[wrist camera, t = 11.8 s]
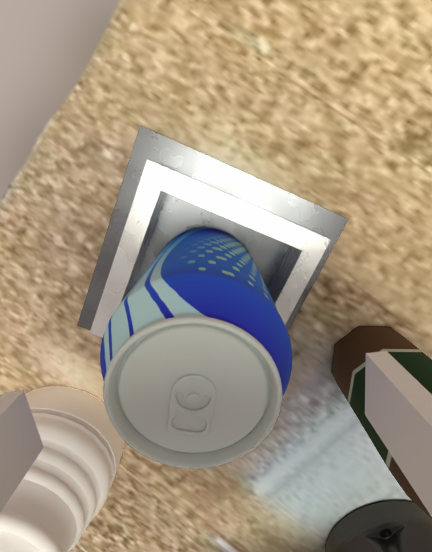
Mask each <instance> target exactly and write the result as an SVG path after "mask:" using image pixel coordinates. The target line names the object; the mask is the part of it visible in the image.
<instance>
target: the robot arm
mask: <svg viewBox="0 0 432 552" xmlns="http://www.w3.org/2000/svg"><path fill="white" fill-rule="evenodd" d="M365 415H366V417H367V419H368V420H369V422H370V423H371V425H372V426H373V428H374V429H375V431H376V432H377V434H378V435H379V437H380V438H381V440H382V441H383V443H384V445H385V446H386V448H387V449H388V451H389V452H390V454H391V455H392V457H393V458H394V460H395V461H396V463H397V464H398V466H399V468H400V469H401V471H402V472H403V474H404V475H405V477H406V478H407V480H408V481H409V483H410V484H411V486H412V487H413V489H414V490H415V492H416V494H417V495H418V497H419V498H420V500H421V501H422V503H423V504H424V506H425V507H426V509H427V510H428V512H429V513H430V515H431V517H432V394H431V393H430V392H429V391H428V390H426V389H425V388H424V387H423V386H422V385H421V384H420V383H419V382H418V381H417V380H416V379H415V378H414V377H413V376H412V375H411V374H410V373H409V372H408V371H407V370H406V369H405V368H404V367H403V366H402V365H401V364H399V363H398V362H397V361H396V360H395V359H394V358H393V357H392V356H391V355H390V354H389V353H388V352H387V351H382V352H372V353H366V365H365ZM43 448H44V446H43V443H42V441H41V438H40V435H39V432H38V429H37V426H36V424H35V421H34V418H33V415H32V412H31V410H30V407H29V404H28V401H27V398H26V395H25V393H24V391H15V392H6V393H4V394H3V395H2V396H1V397H0V513H1V511H2V510H3V508H4V507H5V505H6V504H7V502H8V500H9V499H10V497H11V496H12V494H13V493H14V491H15V490H16V488H17V487H18V485H19V484H20V482H21V481H22V479H23V478H24V476H25V475H26V473H27V472H28V470H29V469H30V467H31V466H32V464H33V463H34V461H35V460H36V458H37V457H38V455H39V454H40V452H41V451H42V449H43ZM325 552H432V518H430V517H429V516H428V515H427V514H426V513H425V512H424V511H423V510H422V509H421V508H420V507H419V506H418V505H417V504H416V503H415V502H409V501H386V502H380V503H375V504H372V505H368V506H366V507H363V508H361V509H358V510H356V511H354V512H353V513H351V514H349V515H348V516H346V517H345V518H344V519H342V520H341V521H340V522H339V523H338V524H337V525H336V526H335V527H334V529H333V530H332V532H331V533H330V535H329V537H328V539H327V542H326V548H325Z"/></svg>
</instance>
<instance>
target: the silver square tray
mask: <svg viewBox="0 0 432 552" xmlns="http://www.w3.org/2000/svg"><path fill="white" fill-rule="evenodd" d="M347 221H348V219H347V218H345V217H343V216H341V215H338V214H336V213H334V212H332V211H329V210H327V209H325V208H323V207H321V206H318V205H316V204H314V203H312V202H309V201H307V200H305V199H303V198H301V197H298V196H296V195H294V194H292V193H289V192H287V191H285V190H283V189H281V188H278V187H276V186H274V185H272V184H269V183H267V182H265V181H263V180H261V179H258V178H256V177H254V176H252V175H249V174H247V173H245V172H243V171H241V170H238V169H236V168H234V167H232V166H229V165H227V164H225V163H223V162H221V161H218V160H216V159H214V158H212V157H209V156H207V155H205V154H203V153H201V152H198V151H196V150H194V149H192V148H189V147H187V146H185V145H183V144H181V143H178V142H176V141H174V140H172V139H169V138H167V137H165V136H163V135H161V134H158V133H156V132H154V131H152V130H149V129H147V128H145V127H143V126H141V125H140V129H139V132H138V135H137V138H136V141H135V144H134V148H133V151H132V154H131V157H130V160H129V163H128V167H127V170H126V173H125V176H124V179H123V182H122V186H121V189H120V192H119V195H118V198H117V201H116V205H115V208H114V211H113V214H112V217H111V220H110V224H109V227H108V230H107V233H106V236H105V239H104V243H103V246H102V249H101V252H100V255H99V258H98V262H97V265H96V268H95V271H94V274H93V277H92V281H91V284H90V287H89V290H88V293H87V296H86V300H85V303H84V306H83V309H82V312H81V315H80V319H79V322H78V325H77V326H80V327H83V328H86V329H89V330H90V334H93V335H96V336H99V337H102V338H103V335H104V332H105V329H106V326H107V324H108V322H109V320H110V318H111V316H112V315H113V313H114V311H115V310H116V309H117V307H118V306H119V305H120V303H121V302H122V301H123V300H124V298H125V297H126V296H127V294H128V293H129V292H130V291H131V289H132V288H133V287H134V285H135V284H136V283H137V282H138V280H139V279H140V278H141V276H142V275H143V274H144V272H145V271H146V270H147V269H148V267H149V266H150V265H151V263H152V262H153V261H154V260H155V258H156V257H157V256H158V254H159V253H160V252H161V251H162V249H163V248H164V247H165V245H166V244H167V243H168V242H169V241H170V240H172V239H173V238H174V237H176V236H177V235H179V234H181V233H183V232H185V231H188V230H191V229H196V228H213V229H218V230H221V231H224V232H227V233H229V234H231V235H232V236H234V237H235V238H237V239H238V240H239V241H240V242H241V243H242V244H243V245H244V246H245V247H246V248H247V250H248V251H249V253H250V254H251V256H252V258H253V261H254V263H255V265H256V267H257V269H258V271H259V273H260V275H261V277H262V279H263V281H264V283H265V285H266V287H267V289H268V291H269V293H270V295H271V297H272V300H273V302H274V304H275V306H276V308H277V310H278V312H279V314H280V316H281V318H282V320H283V322H284V324H285V326H286V329H287V332H288V330H289V328H290V326H291V324H292V322H293V321H294V319H295V317H296V315H297V313H298V311H299V310H300V308H301V306H302V304H303V302H304V300H305V298H306V297H307V295H308V293H309V291H310V289H311V287H312V286H313V284H314V282H315V280H316V278H317V276H318V275H319V273H320V271H321V269H322V267H323V265H324V264H325V262H326V260H327V258H328V256H329V254H330V253H331V251H332V249H333V247H334V245H335V243H336V241H337V240H338V238H339V236H340V234H341V232H342V230H343V229H344V227H345V225H346V223H347Z"/></svg>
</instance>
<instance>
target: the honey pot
mask: <svg viewBox="0 0 432 552" xmlns="http://www.w3.org/2000/svg"><path fill="white" fill-rule="evenodd" d="M25 395H26V398H27V401H28V404H29V407H30V410H31V412H32V415H33V418H34V421H35V424H36V426H37V429H38V432H39V435H40V438H41V441H42V443H43V446H44V448H43V449H42V451H41V452H40V454H39V455H38V457H37V458H36V460H35V461H34V463H33V464H32V466H31V467H30V469H29V470H28V472H27V473H26V475H25V476H24V478H23V479H22V481H21V482H20V484H19V485H18V487H17V488H16V490H15V491H14V493H13V494H12V496H11V497H10V499H9V500H8V502H7V504H6V505H5V507H4V508H3V510H2V511H1V513H0V552H69V551H70V550H71V549H73V548H74V546H75V545H76V543H77V542H78V540H79V539H80V537H81V535H82V533H83V532H84V531H85V529H86V528H87V526H88V525H89V523H90V522H91V520H92V518H93V517H94V516H96V515H97V514H98V512H99V511H100V509H101V508H102V506H103V505H104V503H105V501H106V499H107V498H108V494H109V490H110V488H111V485H112V482H113V480H114V477H115V474H116V471H117V468H118V465H119V463H120V460H121V457H122V453H123V449H124V445H125V441H124V440H123V439H122V438H121V437H120V435H119V434H118V433H117V432H116V430H115V429H114V427H113V425H112V424H111V422H110V419H109V417H108V415H107V412H106V408H105V404H104V402H103V401H102V400H100V399H99V398H98V397H96V396H94V395H92V394H90V393H87V392H85V391H83V390H80V389H76V388H71V387H67V386H46V387H42V388H38V389H33V390H31V391H29V392H28V393H26V394H25Z"/></svg>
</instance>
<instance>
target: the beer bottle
mask: <svg viewBox="0 0 432 552" xmlns="http://www.w3.org/2000/svg"><path fill="white" fill-rule="evenodd" d="M382 351H387V352H388V353H389V354H390V355H391V356H392V357H393V358H394V359H395V360H396V361H397V362H398V363H399V364H401V365H402V366H403V367H404V368H405V369H406V370H407V371H408V372H409V373H410V374H411V375H412V376H413V377H414V378H415V379H416V380H417V381H418V382H419V383H420V384H421V385H422V386H423V387H424V388H425V389H426V390H428V391H429V392H430V393H431V394H432V360H431V359H430V358H429V357H428V356H426V355H425V354H424V353H423V352H422V351H420V350H419V349H418V348H417V347H415V346H414V345H413V344H412V343H411V342H409V341H408V340H407V339H406V338H405V337H403V336H402V335H401V334H399V333H398V332H396V331H395V330H394V329H392V328H391V327H358V328H356V329H355V330H354V331H353V332H351V333H350V334H349V335H347V336H346V337H345V338H343V339H342V340H341V341H340V342H338V343H337V344H336V345H335V352H334V358H333V365H332V374H333V376H334V378H335V380H336V382H337V384H338V386H339V387H340V389H341V391H342V392H343V394H344V396H345V397H346V399H347V401H348V402H349V404H350V406H351V407H352V409H353V411H354V412H355V414H356V416H357V417H358V419H359V421H360V422H361V424H362V426H363V427H364V429H365V431H366V432H367V434H368V436H369V437H370V439H371V441H372V442H373V444H374V446H375V447H376V449H377V451H378V452H379V454H380V455H381V457H382V459H383V460H384V462H385V464H386V465H387V467H388V469H389V470H390V472H391V473H392V475H393V476H394V477H395V479H396V480H397V482H398V483H399V484H400V486H401V487H402V489H403V490H404V492H405V493H406V494H407V496H408V497H409V498H410V499H411V500H412V501H414V502H415V503H416V504H417V505H418V506H419V507H420V508H421V509H422V510H423V511H424V512H425V513H426V514H427V515H428V516H429V517H430V518H432V517H431V515H430V513H429V512H428V510H427V509H426V507H425V506H424V504H423V503H422V501H421V500H420V498H419V497H418V495H417V494H416V492H415V490H414V489H413V487H412V486H411V484H410V483H409V481H408V480H407V478H406V477H405V475H404V474H403V472H402V471H401V469H400V468H399V466H398V464H397V463H396V461H395V460H394V458H393V457H392V455H391V454H390V452H389V451H388V449H387V448H386V446H385V445H384V443H383V441H382V440H381V438H380V437H379V435H378V434H377V432H376V431H375V429H374V428H373V426H372V425H371V423H370V422H369V420H368V419H367V417H366V415H365V365H366V353H372V352H382Z"/></svg>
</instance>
